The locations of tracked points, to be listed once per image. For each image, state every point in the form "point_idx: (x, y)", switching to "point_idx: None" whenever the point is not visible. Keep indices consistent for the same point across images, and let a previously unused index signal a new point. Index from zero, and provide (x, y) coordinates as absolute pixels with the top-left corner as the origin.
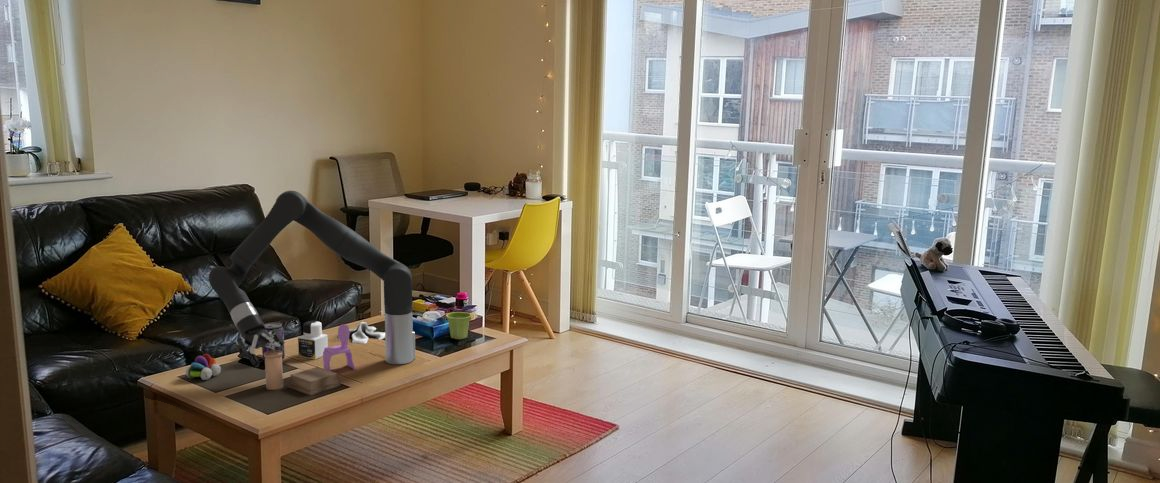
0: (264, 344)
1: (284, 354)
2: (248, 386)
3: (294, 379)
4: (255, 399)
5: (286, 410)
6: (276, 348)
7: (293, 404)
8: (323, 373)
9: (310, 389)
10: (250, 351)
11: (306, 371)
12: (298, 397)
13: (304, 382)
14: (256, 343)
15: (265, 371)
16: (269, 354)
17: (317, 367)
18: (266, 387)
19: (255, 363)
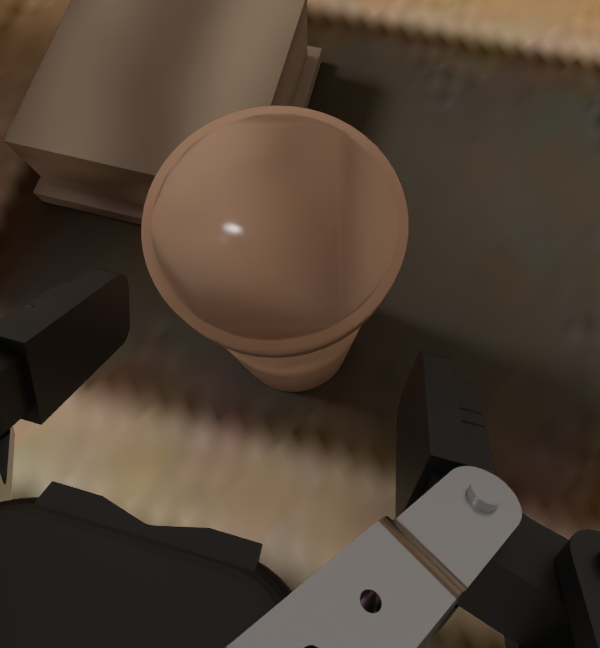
0: (105, 511)
1: None
2: (366, 520)
3: None
4: (532, 287)
5: (560, 31)
6: (14, 380)
7: (475, 54)
8: (126, 21)
9: (306, 45)
10: (502, 521)
11: (129, 141)
12: (377, 95)
13: (289, 66)
14: (264, 612)
15: (343, 353)
16: (359, 215)
17: (18, 130)
18: (341, 365)
19: (465, 384)
